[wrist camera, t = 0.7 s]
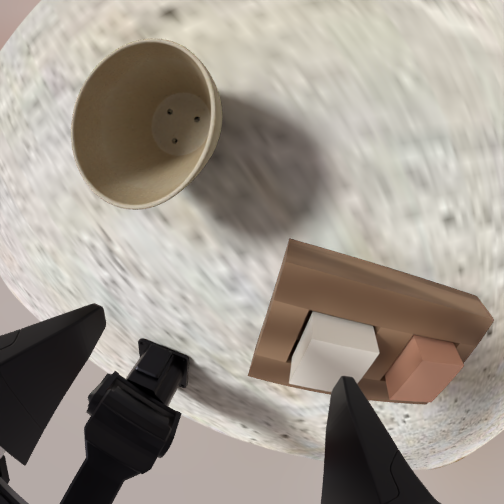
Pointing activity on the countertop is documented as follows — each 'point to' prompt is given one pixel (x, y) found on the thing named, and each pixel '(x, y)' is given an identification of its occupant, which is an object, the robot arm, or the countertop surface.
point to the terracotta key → (422, 370)
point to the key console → (361, 312)
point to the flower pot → (145, 123)
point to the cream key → (332, 352)
